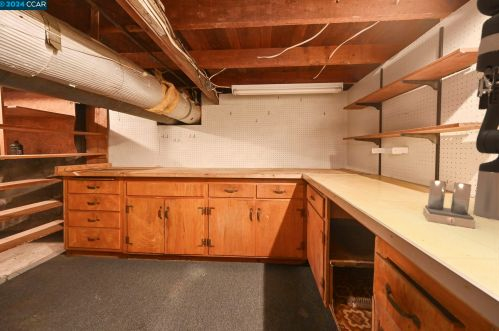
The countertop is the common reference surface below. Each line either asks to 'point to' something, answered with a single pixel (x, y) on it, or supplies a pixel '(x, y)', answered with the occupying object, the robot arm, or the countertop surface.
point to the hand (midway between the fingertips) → (487, 107)
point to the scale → (448, 217)
